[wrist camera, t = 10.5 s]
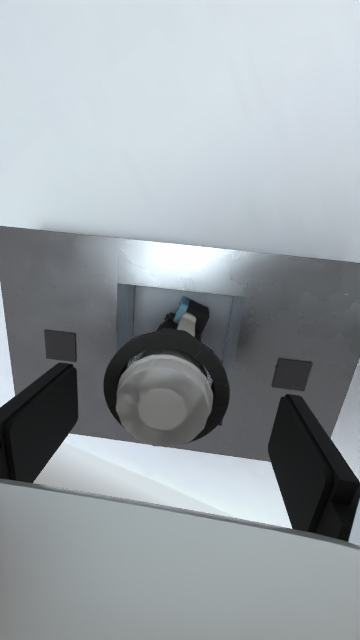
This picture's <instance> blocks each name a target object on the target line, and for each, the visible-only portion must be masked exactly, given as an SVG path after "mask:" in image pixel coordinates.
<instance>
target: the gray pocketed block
mask: <svg viewBox="0 0 360 640" xmlns="http://www.w3.org/2000/svg"><path fill="white" fill-rule="evenodd" d="M0 282H1V290H2V298H3V305H4V313H5V321H6V329H7V336H8V344H9V352H10V359H11V367H12V375H13V382H14V390H15V396H16V395H17V394H19V393H20V392H21V391H22V390H24V389H25V388H26V387H28V386H29V385H30V384H32V383H33V382H34V381H35V380H37V379H38V378H39V377H41V376H42V375H43V374H44V373H46V372H47V371H48V370H50V369H51V368H52V367H53V366H55V365H56V364H57V363H59V362H61V363H69V364H73V366H74V367H75V368H76V369H77V388H78V420H77V423H76V424H75V426H74V427H73V429H72V430H71V431H70V433H71V434H79V435H86V436H93V437H100V438H107V439H114V440H121V441H128V442H135V443H142V444H147V443H144V442H142V441H141V440H139V439H136V438H135V437H134V436H133V435H132V434H131V433H130V432H128V431H127V430H126V429H125V428H124V427H122V426H121V425H120V424H119V423H118V421H117V420H116V419H115V418H114V416H113V415H112V413H111V412H110V410H109V408H108V406H107V403H106V400H105V396H104V390H103V382H104V376H105V372H106V369H107V366H108V364H109V362H110V361H111V359H112V358H113V356H114V355H115V354H116V353H117V351H118V350H119V349H120V348H121V347H122V346H123V345H125V344H126V343H127V342H129V341H130V340H132V339H133V314H134V290H135V285H139V286H148V287H157V288H166V289H175V290H184V291H193V292H202V293H211V294H220V295H229V296H234V297H233V302H232V308H231V314H230V320H229V326H228V332H227V338H226V344H225V349H224V355H223V361H222V365H223V367H224V369H225V371H226V374H227V378H228V382H229V388H230V399H229V404H228V408H227V411H226V413H225V415H224V417H223V419H222V420H221V422H220V423H219V424H218V425H217V427H216V428H215V429H213V430H212V431H211V432H210V433H208V434H207V435H206V436H204V437H202V438H200V439H198V440H196V441H193V442H190V443H185V444H181V445H178V446H175V447H170V448H178V449H185V450H192V451H199V452H206V453H213V454H220V455H227V456H234V457H241V458H248V459H255V460H262V461H269V462H271V460H270V457H269V454H268V443H269V439H270V436H271V432H272V428H273V424H274V421H275V417H276V413H277V409H278V405H279V402H280V398H281V397H285V395H286V394H292V395H299V396H301V397H302V398H303V399H304V401H305V402H306V404H307V405H308V407H309V408H310V410H311V411H312V412H313V414H314V415H315V417H316V418H317V420H318V421H319V423H320V424H321V426H322V427H323V429H324V430H325V432H326V433H327V435H328V436H329V438H331V435H332V432H333V429H334V427H335V424H336V421H337V418H338V416H339V413H340V410H341V407H342V405H343V402H344V399H345V396H346V393H347V391H348V388H349V385H350V382H351V380H352V377H353V374H354V371H355V369H356V366H357V363H358V360H359V358H360V263H355V262H346V261H336V260H326V259H317V258H307V257H297V256H287V255H278V254H268V253H258V252H248V251H239V250H229V249H219V248H210V247H200V246H190V245H180V244H171V243H161V242H151V241H142V240H132V239H122V238H112V237H103V236H93V235H83V234H74V233H64V232H54V231H44V230H35V229H25V228H15V227H6V226H0ZM131 363H132V359H130V360H129V362H128V367H129V366H130V365H131ZM128 367H127V368H128ZM149 445H150V444H149Z"/></svg>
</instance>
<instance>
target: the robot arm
mask: <svg viewBox="0 0 360 640" xmlns="http://www.w3.org/2000/svg"><path fill="white" fill-rule="evenodd" d="M77 420H78V388H77V369H76V368H75V367H74V366H73V364H69V363H61V362H59V363H57V364H56V365H55V366H53V367H52V368H51V369H50V370H48V371H47V372H46V373H44V374H43V375H42V376H41V377H39V378H38V379H37V380H35V381H34V382H33V383H32V384H30V385H29V386H28V387H26V388H25V389H24V390H22V391H21V392H20V393H19V394H17V395H16V396H15V397H13V398H12V399H11V400H10V401H8V402H7V403H6V404H4V405H3V406H2V407H1V408H0V640H360V482H359V480H358V479H357V477H356V476H355V474H354V473H353V471H352V470H351V468H350V467H349V466H348V464H347V463H346V461H345V460H344V458H343V457H342V455H341V454H340V452H339V451H338V449H337V448H336V446H335V445H334V443H333V442H332V440H331V439H330V438H329V436H328V435H327V433H326V432H325V430H324V429H323V427H322V426H321V424H320V423H319V421H318V420H317V418H316V417H315V415H314V414H313V412H312V411H311V410H310V408H309V407H308V405H307V404H306V402H305V401H304V399H303V398H302V397H301V396H299V395H292V394H286V395H285V397H281V398H280V402H279V405H278V409H277V413H276V417H275V421H274V424H273V428H272V432H271V436H270V439H269V443H268V454H269V457H270V460H271V463H272V466H273V469H274V473H275V476H276V479H277V482H278V485H279V488H280V491H281V494H282V497H283V500H284V504H285V507H286V510H287V513H288V516H289V519H290V522H291V525H292V528H293V529H290V528H285V527H280V526H275V525H270V524H265V523H259V522H254V521H248V520H243V519H237V518H232V517H225V516H220V515H214V514H209V513H203V512H197V511H193V510H187V509H181V508H175V507H170V506H164V505H158V504H153V503H147V502H141V501H135V500H129V499H123V498H118V497H112V496H106V495H100V494H94V493H88V492H82V491H76V490H70V489H64V488H58V487H52V486H46V485H40V484H34V483H33V482H34V480H35V479H36V478H37V476H38V475H39V474H40V472H41V471H42V469H43V468H44V467H45V465H46V464H47V463H48V461H49V460H50V458H51V457H52V456H53V454H54V453H55V452H56V450H57V449H58V448H59V446H60V445H61V444H62V442H63V441H64V439H65V438H66V437H67V435H68V434H69V433H70V431H71V430H72V429H73V427H74V426H75V424H76V423H77Z"/></svg>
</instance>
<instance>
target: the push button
mask: <svg viewBox="0 0 360 640" xmlns="http://www.w3.org/2000/svg"><path fill="white" fill-rule="evenodd" d="M166 315H167V314H166ZM166 315H165V317H166ZM165 317H164V319H163V321H162V323H161V325H160V326H159V328H158V330H157V331H155V332H152V333H147V334H143V335H141V336H138V337H136V338H134V339H132V340H130V341H129V342H127V343H126V344H125V345H123V346H122V347H121V348H120V349H119V350H118V351H117V353H116V354H115V355H114V356H113V358H112V359H111V361H110V362H109V364H108V366H107V369H106V372H105V376H104V382H103V390H104V396H105V400H106V403H107V406H108V408H109V410H110V412H111V413H112V415H113V416H114V418H115V419H116V420H117V421H118V423H119V424H120V425H121V426H122V427H124V428H125V429H126V430H127V431H128V432H130V433H131V434H132V435H133V436H134V437H135V438H136V439H139V440H141V441H142V442H144V443H147V444H150V445H152V446H162V447H175V446H178V445H181V444H185V443H190V442H193V441H196V440H198V439H200V438H202V437H204V436H206V435H207V434H208V433H210V432H211V431H212V430H213V429H215V428H216V427H217V425H218V424H219V423H220V422H221V420H222V419H223V417H224V415H225V413H226V411H227V408H228V404H229V399H230V388H229V382H228V378H227V374H226V371H225V369H224V367H223V365H222V363H221V361H220V360H219V358H218V357H217V356H216V355H215V354H214V352H213V351H212V350H211V349H210V348H209V347H207V346H206V345H204V344H203V343H202V342H201V332H202V330H203V329H204V327H205V325H206V323H207V321H208V319H209V310H208V308H207V307H205V306H203V305H201V304H199V303H196V302H194V301H192V300H190V299H188V298H186V297H184V296H183V298H182V300H181V302H180V305H179V307H178V309H177V311H176V314H174V313H172V312H170V314H169V316H168V318H167V320H165ZM139 353H140V355H139V356H138V357H137V359H136V361H135V362H134V363H132V364H131V365H130V366H129V367H128V362H129V360H130V359H132V358H133V357H134V356H136V355H138V354H139ZM127 367H128V368H127ZM207 370H208V372H209V374H210V375H211V377H212V380H213V383H212V387H210V384H209V382H208V379H207Z"/></svg>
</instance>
